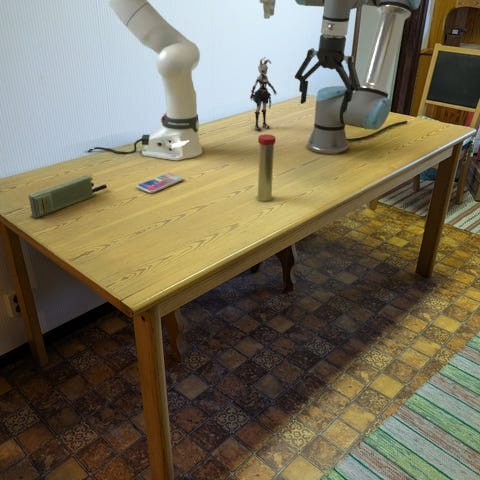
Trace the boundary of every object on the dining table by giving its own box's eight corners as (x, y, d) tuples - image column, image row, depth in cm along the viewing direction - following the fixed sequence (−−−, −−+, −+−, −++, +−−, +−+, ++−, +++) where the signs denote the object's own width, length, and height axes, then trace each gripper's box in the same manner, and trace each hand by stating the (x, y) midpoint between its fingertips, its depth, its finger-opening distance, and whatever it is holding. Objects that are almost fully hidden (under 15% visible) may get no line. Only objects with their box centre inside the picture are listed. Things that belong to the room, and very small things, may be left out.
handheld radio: (30, 215, 144) (102, 188, 161) (37, 219, 142) (109, 191, 159) (26, 193, 140) (100, 168, 157) (33, 197, 138) (107, 171, 155)
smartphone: (184, 177, 167) (150, 191, 157) (184, 180, 167) (151, 194, 157) (168, 171, 171) (134, 185, 161) (168, 174, 171) (135, 188, 161)
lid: (255, 140, 148) (256, 135, 148) (271, 139, 150) (272, 133, 149) (261, 145, 144) (261, 140, 143) (277, 144, 146) (278, 138, 145)
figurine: (253, 133, 212) (255, 58, 197) (243, 130, 216) (244, 56, 201) (277, 126, 221) (281, 54, 206) (267, 123, 224) (270, 52, 210)
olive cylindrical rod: (255, 196, 157) (257, 136, 148) (268, 195, 158) (271, 135, 149) (260, 202, 153) (262, 141, 144) (273, 200, 155) (276, 140, 145)
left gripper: (265, -33, 165) (264, 13, 172) (255, -32, 148) (254, 20, 155) (284, -33, 164) (282, 14, 171) (276, -31, 147) (274, 20, 154)
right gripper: (288, 31, 148) (282, 102, 160) (372, 44, 138) (358, 118, 150) (298, 26, 153) (291, 95, 165) (379, 39, 144) (365, 111, 156)
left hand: (268, 16), depth 163 cm, fingers open, 8 cm apart
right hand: (323, 106), depth 158 cm, fingers open, 13 cm apart
